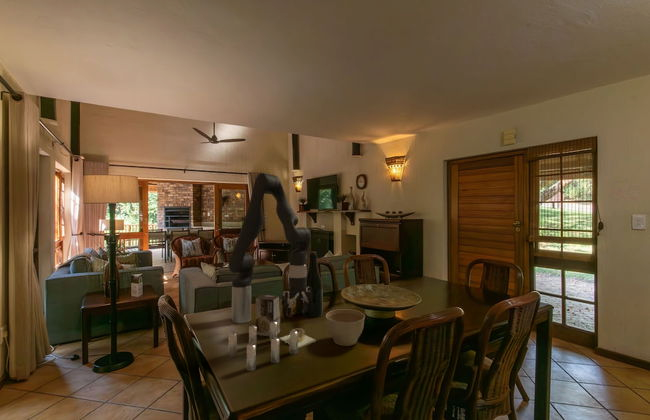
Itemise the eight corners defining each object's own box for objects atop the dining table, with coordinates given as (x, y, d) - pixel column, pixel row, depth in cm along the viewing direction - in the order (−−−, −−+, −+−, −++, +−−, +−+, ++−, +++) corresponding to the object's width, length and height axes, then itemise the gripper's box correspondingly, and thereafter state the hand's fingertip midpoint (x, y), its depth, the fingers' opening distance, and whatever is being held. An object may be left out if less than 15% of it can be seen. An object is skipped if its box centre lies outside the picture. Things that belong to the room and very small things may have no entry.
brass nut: (288, 338, 129) (289, 329, 129) (298, 335, 132) (298, 326, 132) (297, 342, 124) (297, 333, 124) (306, 339, 128) (307, 330, 128)
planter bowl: (319, 337, 131) (319, 311, 132) (353, 331, 138) (353, 307, 138) (335, 353, 117) (335, 324, 117) (372, 346, 123) (372, 318, 123)
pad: (279, 339, 129) (279, 338, 129) (298, 333, 136) (298, 331, 136) (296, 348, 120) (296, 347, 120) (316, 341, 127) (316, 340, 127)
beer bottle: (298, 314, 161) (298, 251, 161) (312, 310, 168) (312, 250, 169) (313, 319, 154) (313, 253, 154) (326, 314, 162) (327, 251, 162)
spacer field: (225, 353, 116) (226, 332, 116) (273, 338, 130) (273, 319, 130) (250, 373, 102) (250, 349, 102) (300, 353, 116) (300, 332, 116)
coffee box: (280, 332, 137) (280, 295, 138) (273, 337, 131) (273, 299, 131) (262, 329, 140) (262, 294, 140) (255, 334, 134) (255, 297, 134)
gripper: (305, 271, 136) (304, 308, 136) (278, 275, 126) (277, 315, 126) (316, 274, 130) (315, 312, 130) (289, 279, 121) (288, 320, 121)
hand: (297, 313), depth 128 cm, fingers open, 8 cm apart
